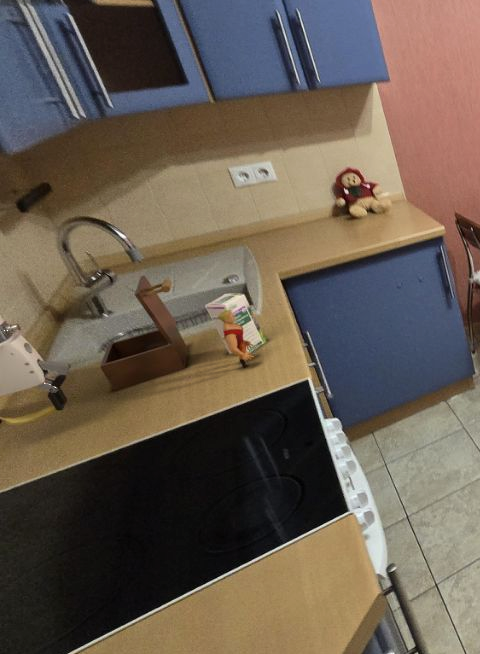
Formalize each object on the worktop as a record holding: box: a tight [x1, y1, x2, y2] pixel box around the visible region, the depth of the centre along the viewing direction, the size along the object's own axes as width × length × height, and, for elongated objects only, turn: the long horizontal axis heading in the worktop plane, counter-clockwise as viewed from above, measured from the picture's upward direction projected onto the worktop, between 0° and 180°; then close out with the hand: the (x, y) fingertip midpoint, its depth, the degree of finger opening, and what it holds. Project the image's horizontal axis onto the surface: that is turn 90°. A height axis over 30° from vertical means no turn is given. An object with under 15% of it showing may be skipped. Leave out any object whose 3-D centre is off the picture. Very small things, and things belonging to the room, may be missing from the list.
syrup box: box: [204, 292, 267, 355], centre depth 129 cm, size 6×6×14 cm
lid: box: [134, 275, 177, 344], centre depth 125 cm, size 13×13×5 cm
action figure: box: [218, 310, 255, 369], centre depth 123 cm, size 10×4×15 cm, turn 35°
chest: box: [99, 324, 189, 392], centre depth 126 cm, size 13×13×7 cm
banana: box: [0, 404, 57, 427], centre depth 102 cm, size 8×2×4 cm, turn 133°
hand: (30, 416), depth 102 cm, fingers closed on banana, 8 cm apart
